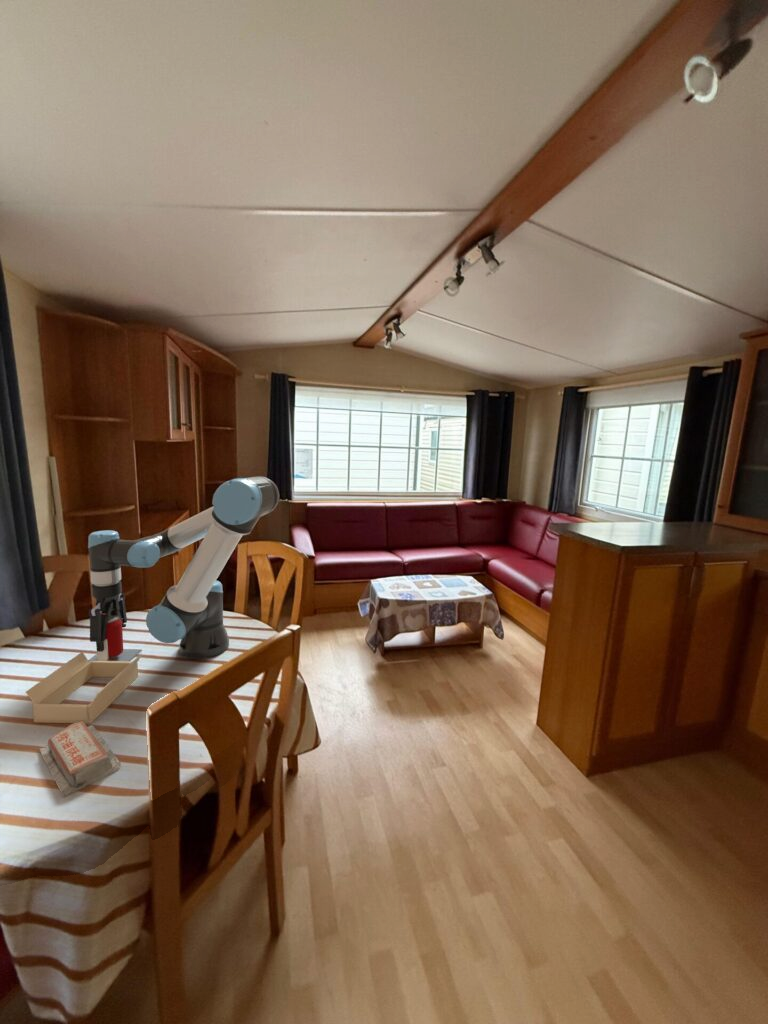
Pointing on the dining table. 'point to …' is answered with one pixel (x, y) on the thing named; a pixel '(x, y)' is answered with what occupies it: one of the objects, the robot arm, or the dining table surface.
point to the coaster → (121, 655)
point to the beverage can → (114, 636)
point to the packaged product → (78, 757)
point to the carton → (70, 679)
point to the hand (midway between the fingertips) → (110, 653)
